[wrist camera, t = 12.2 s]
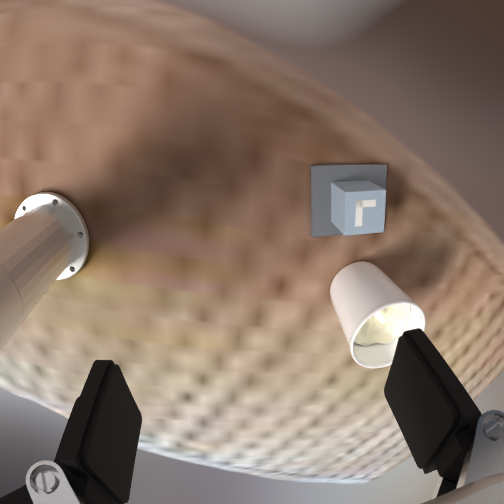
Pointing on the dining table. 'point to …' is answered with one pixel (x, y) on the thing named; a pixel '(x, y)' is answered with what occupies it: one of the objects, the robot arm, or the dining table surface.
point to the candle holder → (372, 313)
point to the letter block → (358, 207)
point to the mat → (322, 190)
